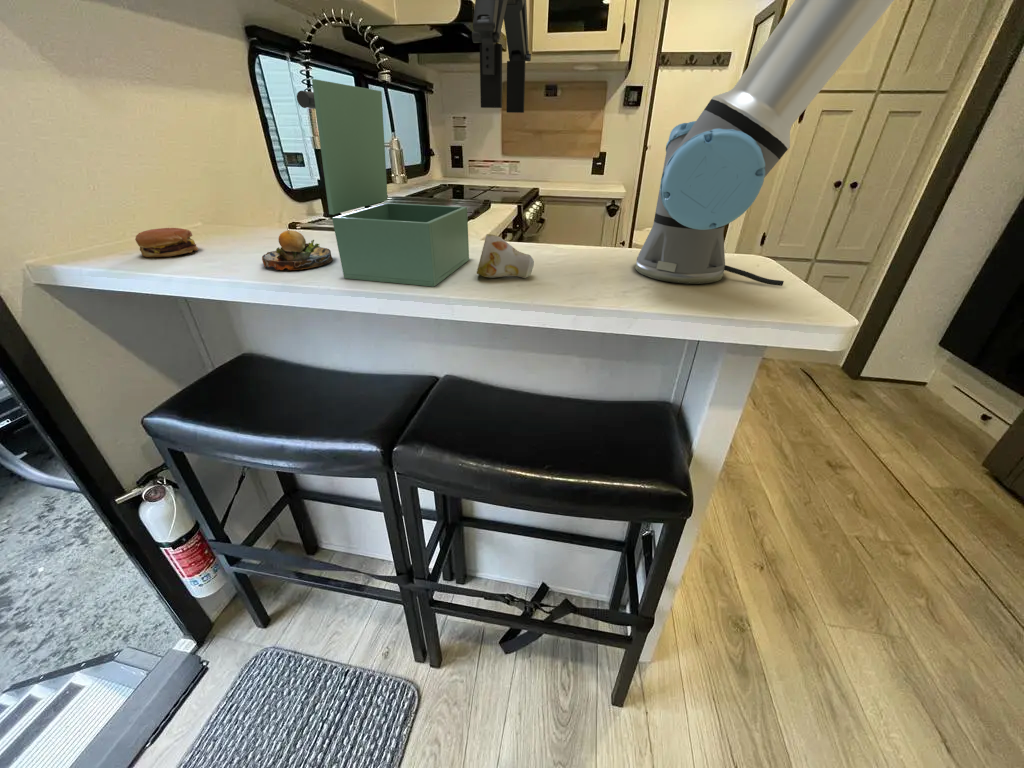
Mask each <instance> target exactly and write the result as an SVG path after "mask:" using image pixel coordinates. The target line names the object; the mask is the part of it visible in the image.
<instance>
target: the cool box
mask: <svg viewBox="0 0 1024 768" xmlns="http://www.w3.org/2000/svg"><path fill="white" fill-rule="evenodd" d="M331 220H332V225H333V230H334V234H335V240H336V245H337V250H338V254H339V259H340V264H341V265H340V266H341V270H342V274H343V278H344V279H348V280H349V279H350V280H360V281H371V282H381V283H389V284H390V283H391V284H402V285H414V286H424V287H436V286H437V285H439V284H440V283H441V282H442V281H444V280H445V279H446V278H447V277H449V276H450V275H452V274H453V273H454V272H456V271H457V270H458V269H460V268H461V267H462V266H463V265H465V264H466V263H467V262H468V261H470V247H469V246H470V245H469V221H468V220H469V217H468V207H467V206H457V205H439V204H420V203H419V204H417V203H416V204H415V203H397V202H384V203H380V204H377V205H373V206H370V207H369V206H368V207H366V208H362V209H359V210H355V211H351V212H348V213H344V214H340V215H335V216H332V217H331Z"/></svg>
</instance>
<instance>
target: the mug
mask: <svg viewBox="0 0 1024 768" xmlns="http://www.w3.org/2000/svg"><path fill="white" fill-rule="evenodd" d="M534 266H535V261H534V258H533V256H532V255H531V254H527V253H525V252H522V251H519V250H518V249H516V248H515V247H514V246H512V245H511V244H510V243H508V242H507V241H506V240H505V239H503V238H502V237H500V236H498V235H496V234H492V233H491V234H490V233H489V234H488V233H487V234H486V235H485V239H484V243H483V246H482V250H481V253H480V258H479V262H478V265H477V269H476V274H477V275H479V276H481V277H484V278H488V279H489V278H490V279H493V278H501V277H509V276H510V277H511V276H512V277H518V278H523V279H526V278H528V277H529V276H531V274H532V273H533V269H534Z"/></svg>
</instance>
